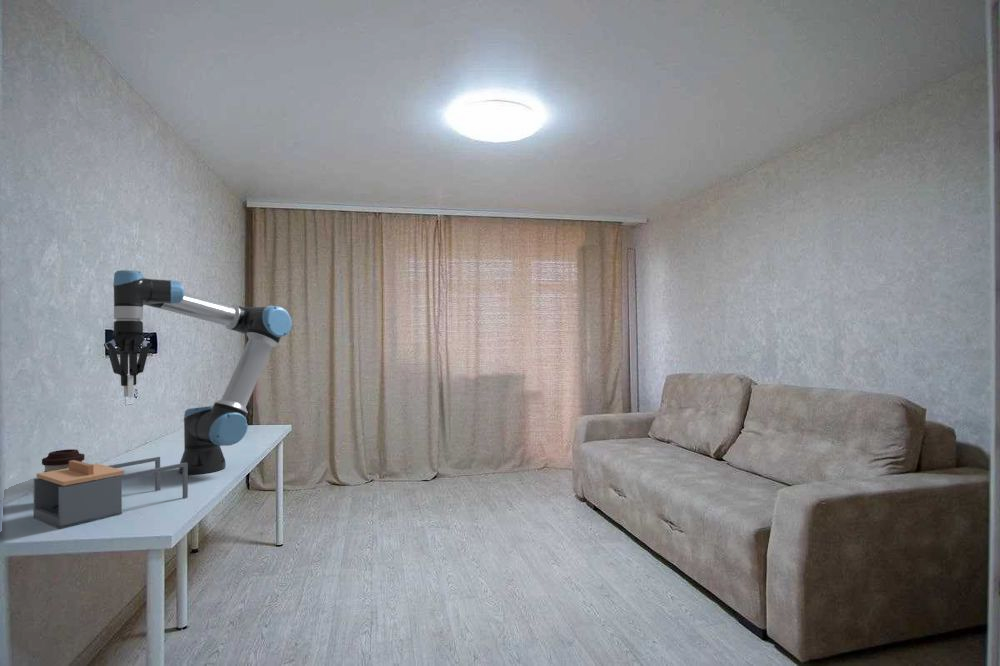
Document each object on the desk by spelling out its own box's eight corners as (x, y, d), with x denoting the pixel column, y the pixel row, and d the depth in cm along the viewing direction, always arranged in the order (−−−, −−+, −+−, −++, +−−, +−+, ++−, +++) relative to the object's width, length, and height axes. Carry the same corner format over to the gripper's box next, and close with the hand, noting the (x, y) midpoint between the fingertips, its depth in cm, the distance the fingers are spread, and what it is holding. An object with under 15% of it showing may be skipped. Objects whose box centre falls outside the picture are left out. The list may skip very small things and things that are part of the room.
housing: (158, 489, 176) (158, 456, 176) (187, 497, 167) (187, 462, 167) (33, 517, 149) (33, 479, 149) (60, 529, 140) (60, 487, 140)
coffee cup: (42, 501, 164) (42, 450, 164) (84, 495, 170) (84, 446, 170) (40, 509, 156) (40, 456, 156) (84, 502, 162) (84, 451, 162)
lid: (96, 466, 161) (96, 454, 161) (124, 474, 152) (124, 461, 152) (36, 477, 149) (36, 464, 149) (63, 485, 140) (63, 472, 140)
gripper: (144, 321, 179) (145, 393, 178) (98, 320, 168) (99, 397, 167) (156, 320, 175) (157, 394, 175) (110, 319, 164) (110, 399, 163)
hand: (128, 396), depth 171 cm, fingers closed
